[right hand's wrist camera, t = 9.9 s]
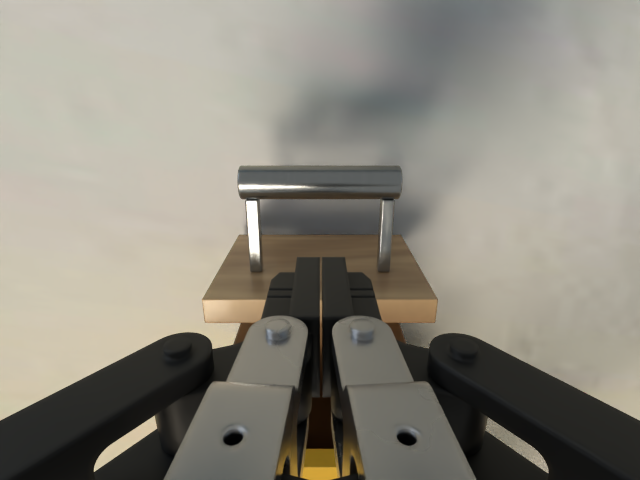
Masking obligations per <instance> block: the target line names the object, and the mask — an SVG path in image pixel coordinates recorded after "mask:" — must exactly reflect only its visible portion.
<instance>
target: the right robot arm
mask: <svg viewBox="0 0 640 480" xmlns="http://www.w3.org/2000/svg"><path fill="white" fill-rule="evenodd" d="M322 386H323V397H331V429H332V437H333V445H334V453H335V461H336V469H337V476H338V478H336V479H332V480H640V421H639V420H637V419H635V418H633V417H631V416H629V415H627V414H625V413H623V412H622V411H620V410H618V409H616V408H614V407H612V406H610V405H608V404H606V403H604V402H602V401H600V400H598V399H596V398H594V397H592V396H590V395H588V394H586V393H584V392H582V391H580V390H578V389H576V388H574V387H572V386H570V385H568V384H566V383H565V382H563V381H561V380H559V379H557V378H555V377H553V376H551V375H549V374H547V373H545V372H543V371H541V370H539V369H537V368H535V367H533V366H531V365H529V364H527V363H525V362H523V361H521V360H519V359H517V358H515V357H513V356H511V355H510V354H508V353H506V352H504V351H502V350H500V349H498V348H496V347H494V346H492V345H490V344H488V343H486V342H484V341H482V340H480V339H478V338H475V337H472V336H469V335H465V334H458V333H448V334H442V335H439V336H437V337H435V338H434V339H433V340H432V341H431V343H430V347H429V349H427V348H423V347H418V346H413V345H409V344H406V343H403V342H401V341H399V340H397V339H395V336H394V334H393V332H392V330H391V328H390V327H389V326H388V325H387V324H386V323H385V322H383V321H382V319H381V315H380V311H379V308H378V304H377V300H376V298H375V293H374V290H373V286H372V282H371V279H370V278H368V277H367V276H366V275H365V274H364V273H363V272H347V267H346V260H345V257H322ZM312 397H320V257H297V260H296V268H295V272H280V273H278V274H277V275H276V276H275V277H274V278H273V279H271V282H270V286H269V290H268V294H267V298H266V302H265V305H264V309H263V313H262V317H261V320H259V321H257V322H255V323H254V324H253V325H252V326H251V327H250V328H249V330H248V332H247V334H246V336H245V339H244V341H242V342H240V343H237V344H234V345H230V346H226V347H221V348H216V349H212V343H211V341H210V340H209V339H208V338H207V337H206V336H204V335H202V334H198V333H189V332H187V333H178V334H173V335H170V336H167V337H164V338H162V339H160V340H158V341H156V342H154V343H152V344H150V345H148V346H146V347H144V348H142V349H140V350H138V351H136V352H134V353H132V354H131V355H129V356H127V357H125V358H123V359H121V360H119V361H117V362H115V363H113V364H111V365H109V366H107V367H105V368H103V369H101V370H99V371H97V372H95V373H93V374H91V375H89V376H87V377H85V378H83V379H81V380H79V381H77V382H75V383H74V384H72V385H70V386H68V387H66V388H64V389H62V390H60V391H58V392H56V393H54V394H52V395H50V396H48V397H46V398H44V399H42V400H40V401H38V402H36V403H34V404H32V405H30V406H28V407H26V408H24V409H22V410H20V411H19V412H17V413H15V414H13V415H11V416H9V417H7V418H5V419H3V420H1V421H0V480H308V479H304V478H302V476H303V469H304V461H305V453H306V445H307V437H308V429H309V414H310V412H311V407H312ZM154 415H155V419H156V424H157V429H156V430H155V431H153V432H152V433H150V434H149V435H147V436H146V437H145V438H143V439H142V440H140V441H139V442H137V443H136V444H134V445H133V446H132V447H130V448H129V449H127V450H126V451H124V452H123V453H121V454H120V455H118V456H117V457H116V458H114V459H113V460H111V461H110V462H108V463H107V464H105V465H104V466H102V467H101V468H100V469H98V470H97V471H95V472H94V465H95V463H96V460H97V459H98V457H99V455H100V454H101V453H102V452H103V451H104V449H106V448H107V447H108V446H109V445H110V444H112V443H113V442H115V441H116V440H118V439H119V438H121V437H122V436H124V435H126V434H127V433H129V432H130V431H132V430H133V429H135V428H136V427H138V426H139V425H141V424H142V423H144V422H145V421H147V420H148V419H150V418H151V417H153V416H154ZM488 417H489V418H490V419H492V420H493V421H495V422H496V423H498V424H499V425H501V426H502V427H504V428H505V429H507V430H508V431H510V432H511V433H513V434H515V435H516V436H518V437H519V438H521V439H522V440H524V441H525V442H527V443H528V444H530V445H531V446H533V447H534V448H535V449H536V450H537V451H538V452H539V453H540V454H541V455H542V457H543V458H544V459H545V461H546V463H547V466H548V469H549V474H548V473H546V472H545V471H543V470H542V469H540V468H539V467H538V466H536V465H535V464H533V463H532V462H530V461H529V460H527V459H526V458H524V457H523V456H522V455H520V454H519V453H517V452H516V451H514V450H513V449H511V448H510V447H508V446H507V445H506V444H504V443H503V442H501V441H500V440H498V439H497V438H495V437H494V436H493V435H491V434H490V433H488V432H487V431H485V429H486V424H487V419H488Z"/></svg>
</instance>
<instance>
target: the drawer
mask: <svg viewBox="0 0 640 480" xmlns="http://www.w3.org/2000/svg"><path fill="white" fill-rule="evenodd" d="M401 191H402V170H401V167H400V166H240V167H239V170H238V192H239V196H240V198H241V199H246V201H245V204H246V218H247V232H248V235H239V236H238V238H237V239H236V241H235V243H234V245H233V246H232V248H231V250H230V252H229V253H228V255H227V257H226V259H225V260H224V262H223V264H222V266H221V267H220V269H219V271H218V273H217V275H216V276H215V278H214V280H213V282H212V283H211V285H210V287H209V289H208V290H207V292H206V294H205V296H204V297H203V299H202V303H203V311H204V319H205V323H241V324H240V327H239V330H238V333H237V336H236V338H235V341H234V344H237V343H240V342H242V341H244V339H245V336H246V334H247V332H248V330H249V328H250V327H251V326H252V325H253V324H254V323H255V322H257V321H259V320H261V317H262V313H263V309H264V305H265V302H266V298H267V294H268V290H269V286H270V282H271V279H273V278H274V277H275V276H276V275H277V274H278V273H280V272H295V268H296V260H297V257H320V397H312V407H311V412H310V414H309V429H308V437H307V445H306V449H334V445H333V437H332V429H331V397H323V386H322V257H345V260H346V267H347V272H363V273H364V274H365V275H366V276H367V277H368V278H370V279H371V282H372V286H373V290H374V293H375V298H376V300H377V304H378V308H379V311H380V315H381V319H382V321H383V322H385V323H386V324H387V325H388V326H389V327H390V328H391V330H392V332H393V334H394V336H395V339H397V340H399V341H401V342H403V343H406V341H405V338H404V335H403V333H402V330H401V327H400V324H399V323H435V319H436V311H437V302H438V299H437V297H436V296H435V294H434V292H433V290H432V288H431V287H430V285H429V283H428V281H427V280H426V278H425V276H424V274H423V273H422V271H421V269H420V267H419V266H418V264H417V262H416V260H415V259H414V257H413V255H412V253H411V252H410V250H409V248H408V246H407V245H406V243H405V241H404V239H403V238H402V236H401V235H392V231H393V217H394V202H395V201H394V199H399V198H400V195H401ZM260 199H380V215H379V233H378V235H262V234H261V216H260ZM234 344H233V345H234Z"/></svg>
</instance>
